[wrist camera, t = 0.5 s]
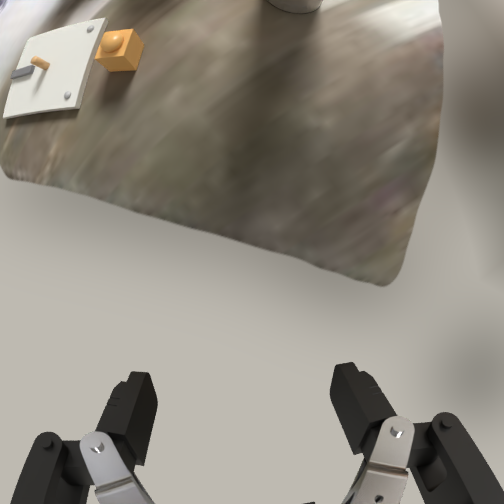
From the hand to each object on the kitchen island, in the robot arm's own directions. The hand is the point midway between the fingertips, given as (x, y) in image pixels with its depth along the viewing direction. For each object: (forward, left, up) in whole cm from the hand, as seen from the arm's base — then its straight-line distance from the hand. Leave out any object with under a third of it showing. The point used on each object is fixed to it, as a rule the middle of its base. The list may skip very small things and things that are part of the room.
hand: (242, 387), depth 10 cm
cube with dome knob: (-25, -20, -27) cm, 42 cm away
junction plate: (-25, -35, -27) cm, 50 cm away
